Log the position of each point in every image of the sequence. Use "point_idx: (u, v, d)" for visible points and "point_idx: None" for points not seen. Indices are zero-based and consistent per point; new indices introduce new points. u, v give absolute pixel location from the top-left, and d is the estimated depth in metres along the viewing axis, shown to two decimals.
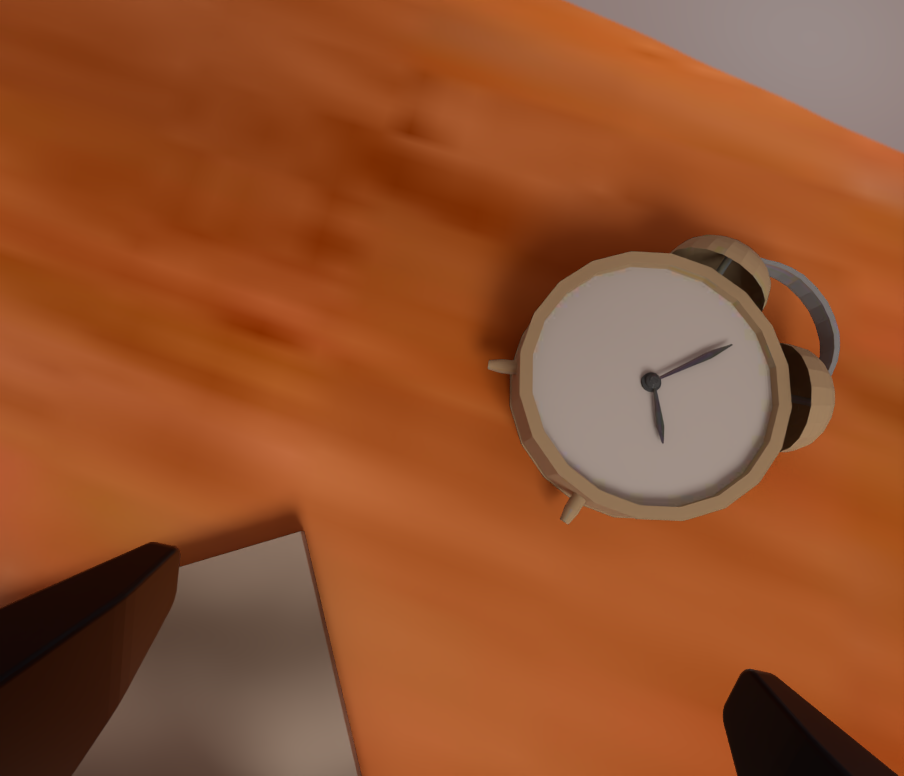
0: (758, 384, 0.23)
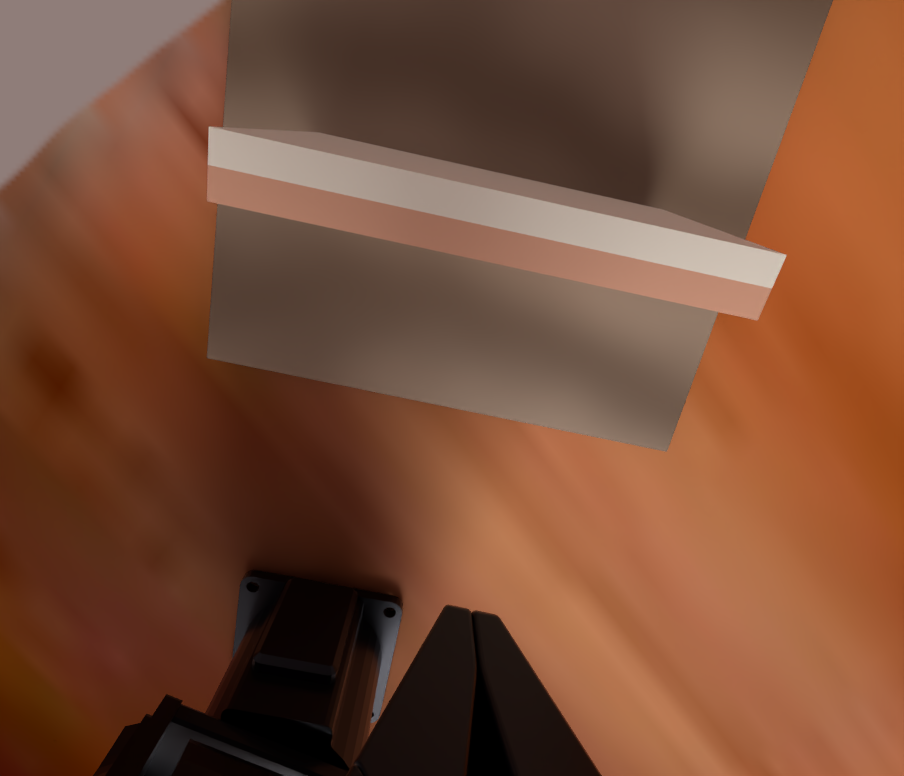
0: None
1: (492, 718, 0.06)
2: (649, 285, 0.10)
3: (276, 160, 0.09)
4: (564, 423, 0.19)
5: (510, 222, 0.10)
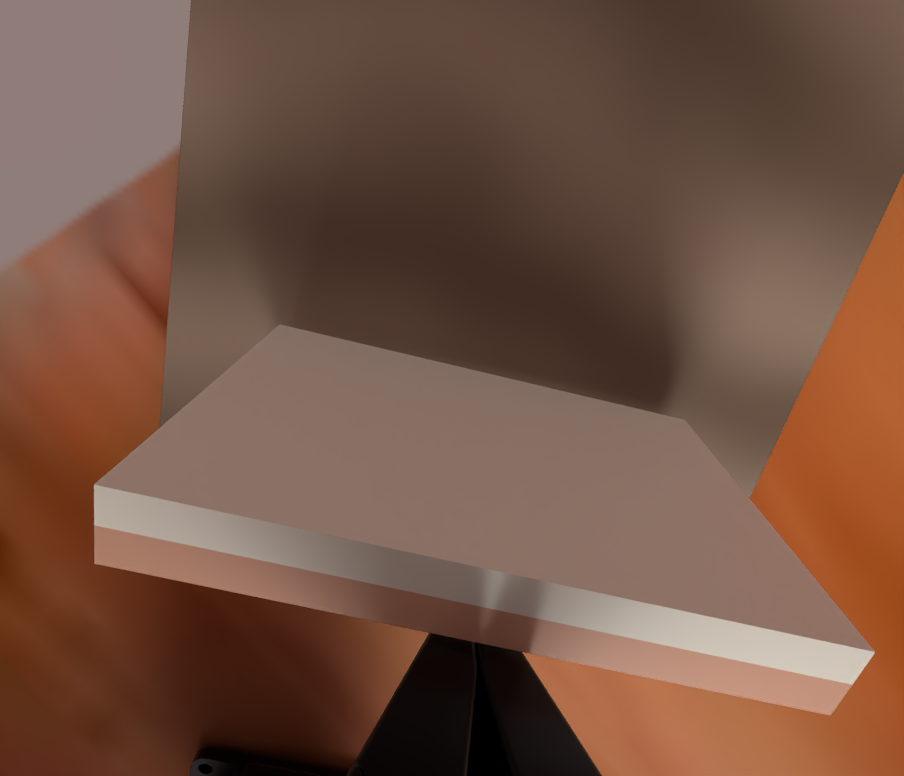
0: None
1: (492, 718, 0.06)
2: (690, 674, 0.08)
3: (189, 524, 0.07)
4: None
5: (507, 603, 0.07)
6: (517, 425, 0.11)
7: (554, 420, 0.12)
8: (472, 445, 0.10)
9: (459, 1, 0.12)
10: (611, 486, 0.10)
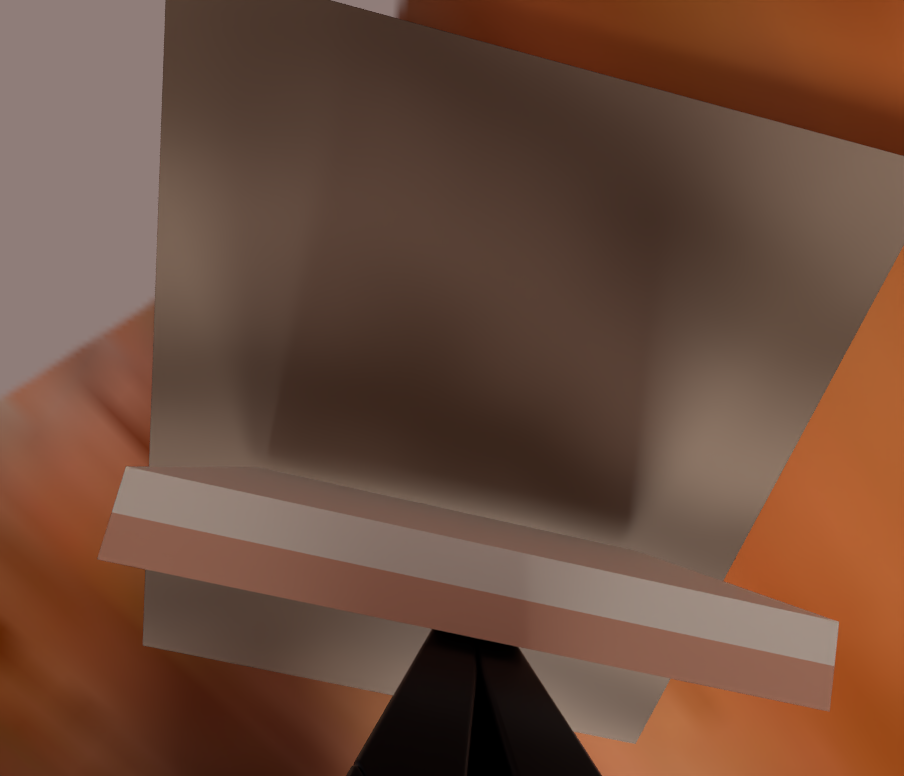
0: None
1: (492, 718, 0.06)
2: (686, 665, 0.08)
3: (207, 507, 0.07)
4: None
5: (504, 584, 0.08)
6: (486, 524, 0.12)
7: (518, 529, 0.13)
8: (449, 520, 0.11)
9: (417, 188, 0.12)
10: (579, 549, 0.11)
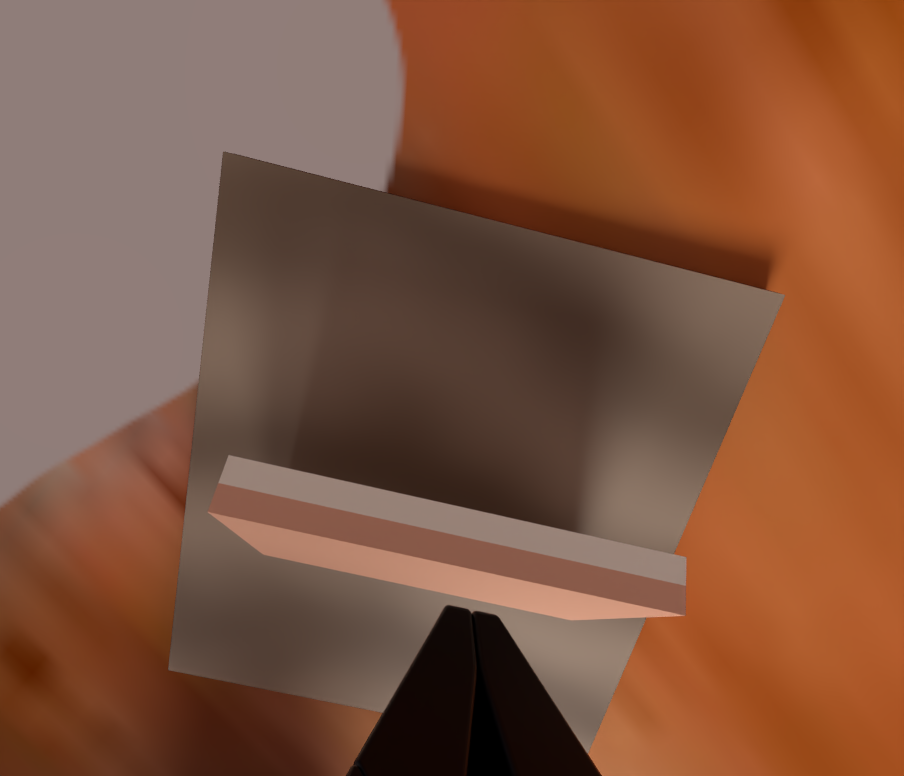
0: None
1: (492, 718, 0.06)
2: (589, 585, 0.12)
3: (278, 481, 0.12)
4: None
5: (469, 531, 0.12)
6: None
7: None
8: None
9: (401, 307, 0.16)
10: None
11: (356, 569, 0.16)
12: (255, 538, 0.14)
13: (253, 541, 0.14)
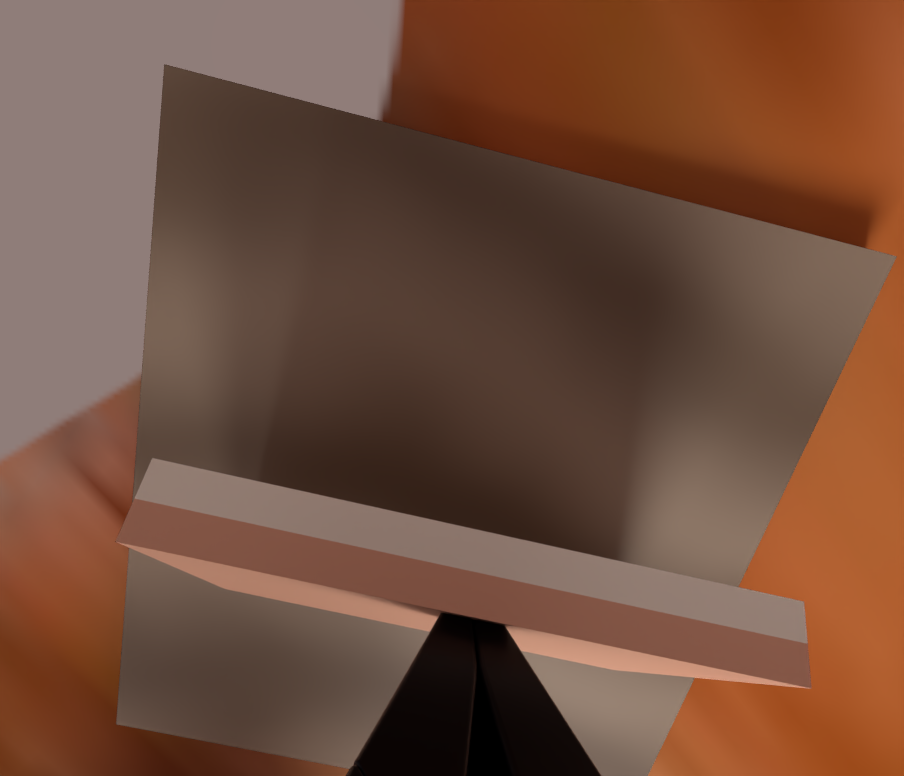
0: None
1: (492, 718, 0.06)
2: (673, 644, 0.08)
3: (224, 495, 0.08)
4: None
5: (499, 566, 0.08)
6: None
7: None
8: None
9: (399, 274, 0.13)
10: None
11: (342, 610, 0.12)
12: (202, 573, 0.10)
13: (203, 576, 0.11)
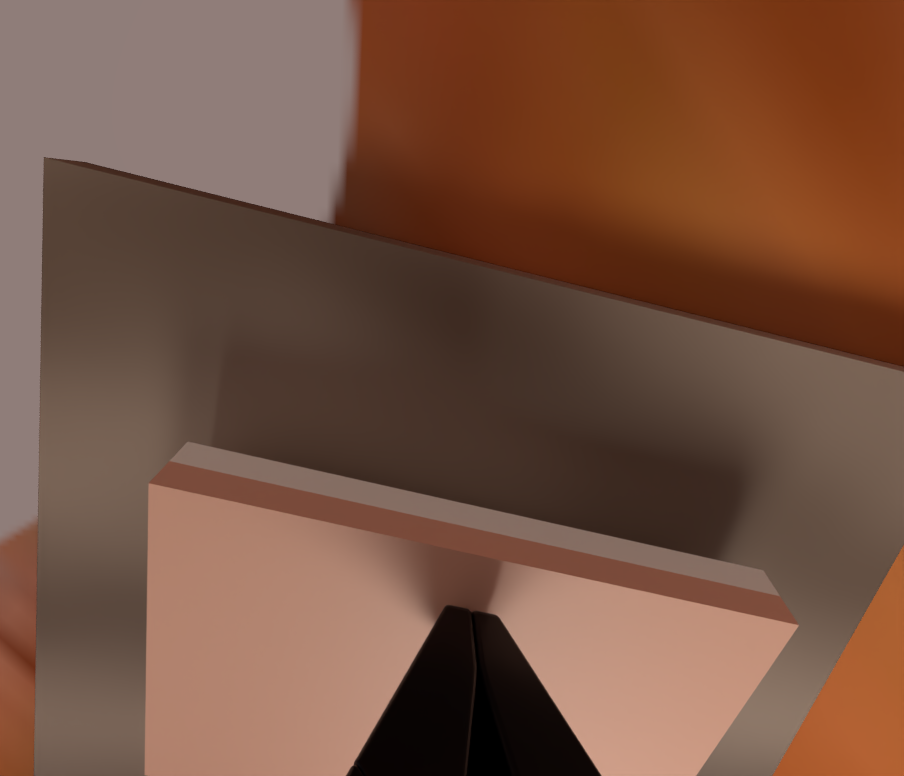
0: None
1: (492, 718, 0.06)
2: (665, 588, 0.09)
3: (250, 466, 0.09)
4: None
5: (497, 527, 0.09)
6: None
7: None
8: None
9: (356, 412, 0.10)
10: None
11: (306, 749, 0.10)
12: (174, 631, 0.09)
13: (162, 661, 0.10)
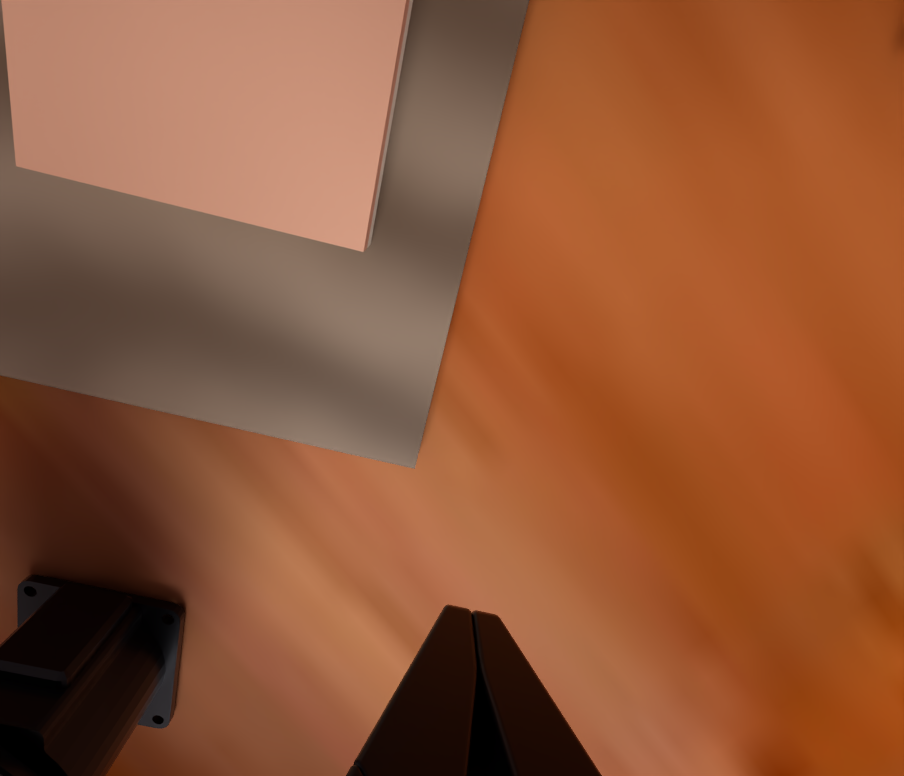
0: None
1: (492, 718, 0.06)
2: None
3: None
4: (312, 438, 0.20)
5: None
6: None
7: None
8: None
9: None
10: None
11: (120, 127, 0.15)
12: (19, 1, 0.14)
13: (15, 34, 0.15)
